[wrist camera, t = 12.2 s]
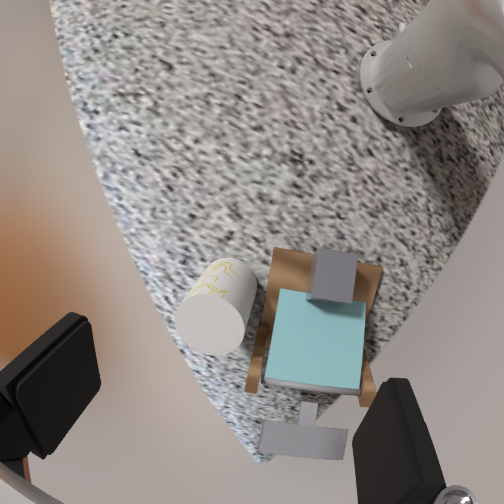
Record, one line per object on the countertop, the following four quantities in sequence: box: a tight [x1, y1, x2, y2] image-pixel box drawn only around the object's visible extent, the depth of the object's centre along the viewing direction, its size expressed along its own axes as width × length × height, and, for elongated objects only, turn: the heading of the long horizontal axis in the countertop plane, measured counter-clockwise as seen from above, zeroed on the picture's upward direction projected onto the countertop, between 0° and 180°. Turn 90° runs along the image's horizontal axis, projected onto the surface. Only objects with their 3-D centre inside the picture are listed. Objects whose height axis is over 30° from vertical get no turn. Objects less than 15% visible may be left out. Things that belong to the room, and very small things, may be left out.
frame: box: [245, 247, 383, 407], centre depth 39 cm, size 16×16×14 cm
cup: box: [175, 258, 257, 356], centre depth 40 cm, size 8×8×12 cm
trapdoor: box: [258, 288, 366, 460], centre depth 36 cm, size 21×13×4 cm
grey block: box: [306, 248, 358, 306], centre depth 39 cm, size 5×5×6 cm
